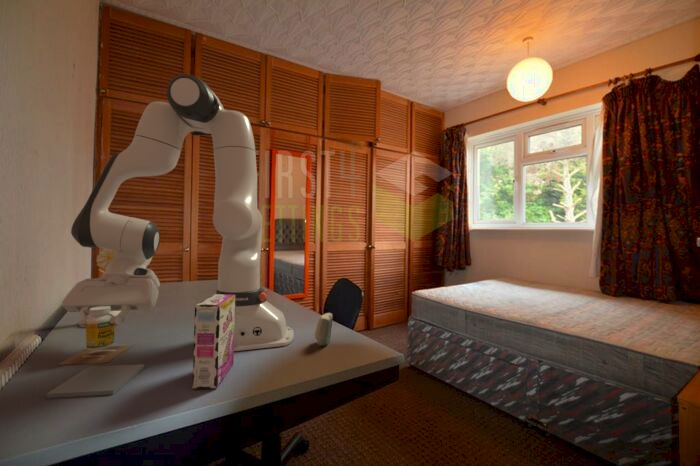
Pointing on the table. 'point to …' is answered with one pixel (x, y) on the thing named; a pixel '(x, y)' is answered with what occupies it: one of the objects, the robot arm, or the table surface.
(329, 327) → the beige upright rounded block
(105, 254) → the flower in vase
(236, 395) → the table surface
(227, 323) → the candy bar box
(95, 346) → the supplement bottle
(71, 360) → the tile
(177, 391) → the table surface
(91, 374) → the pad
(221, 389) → the table surface
